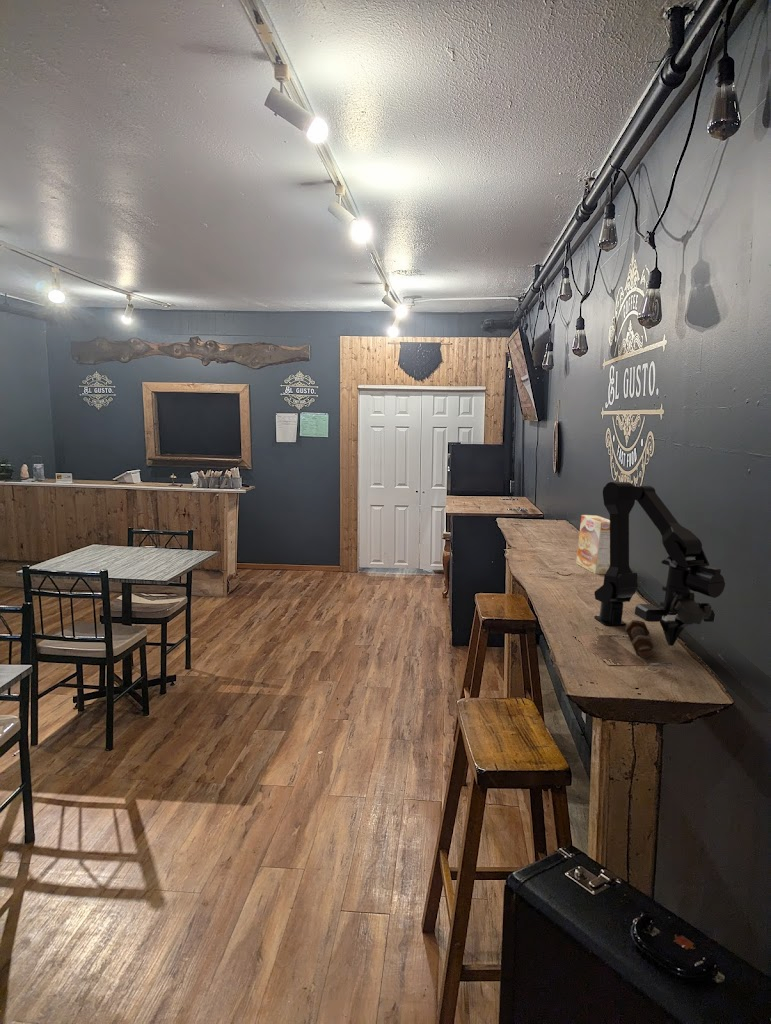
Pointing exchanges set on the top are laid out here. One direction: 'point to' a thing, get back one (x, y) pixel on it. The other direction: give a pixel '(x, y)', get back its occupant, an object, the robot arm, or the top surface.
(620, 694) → the top surface
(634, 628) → the bolt
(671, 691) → the top surface
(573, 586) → the top surface
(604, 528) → the coffeecake box
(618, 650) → the seat and pad
